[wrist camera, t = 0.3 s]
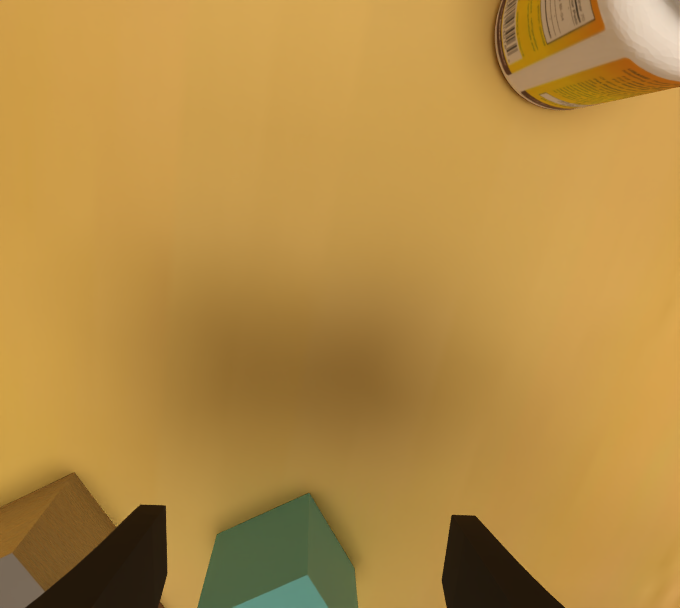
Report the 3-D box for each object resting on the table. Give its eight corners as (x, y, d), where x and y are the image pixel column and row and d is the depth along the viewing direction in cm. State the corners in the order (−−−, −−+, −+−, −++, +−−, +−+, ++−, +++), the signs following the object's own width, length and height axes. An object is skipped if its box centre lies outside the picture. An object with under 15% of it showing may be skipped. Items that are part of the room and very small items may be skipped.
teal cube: (354, 567, 25) (363, 662, 21) (266, 605, 26) (254, 707, 21) (309, 491, 24) (307, 575, 19) (217, 533, 24) (192, 624, 20)
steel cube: (134, 550, 24) (90, 645, 20) (47, 590, 25) (-18, 693, 20) (75, 471, 23) (12, 553, 18) (-16, 514, 24) (-102, 605, 19)
